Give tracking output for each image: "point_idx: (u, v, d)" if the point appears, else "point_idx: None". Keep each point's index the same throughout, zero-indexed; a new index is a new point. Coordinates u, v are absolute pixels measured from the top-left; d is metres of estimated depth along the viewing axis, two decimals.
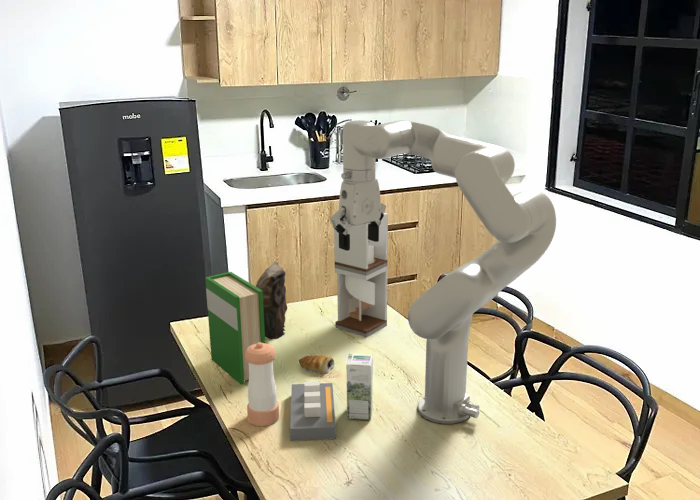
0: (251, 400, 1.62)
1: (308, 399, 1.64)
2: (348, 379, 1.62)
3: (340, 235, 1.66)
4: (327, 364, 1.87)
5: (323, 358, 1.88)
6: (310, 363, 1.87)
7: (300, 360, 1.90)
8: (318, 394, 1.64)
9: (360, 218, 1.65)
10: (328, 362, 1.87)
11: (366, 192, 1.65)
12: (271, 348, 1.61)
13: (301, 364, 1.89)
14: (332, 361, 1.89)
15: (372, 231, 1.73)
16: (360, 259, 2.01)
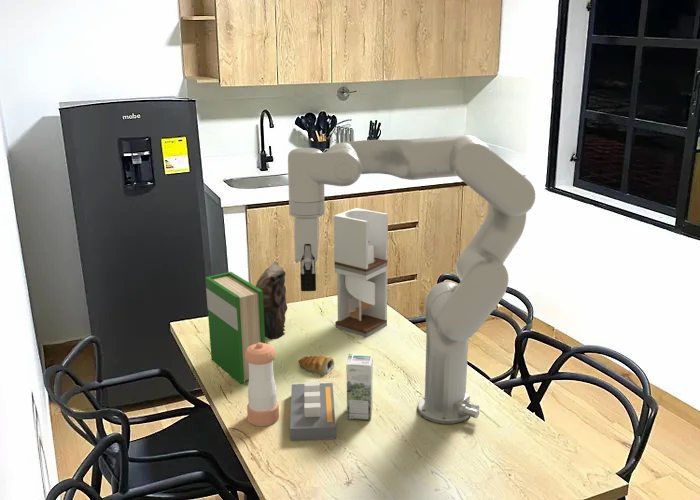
0: (251, 400, 1.62)
1: (308, 399, 1.64)
2: (348, 379, 1.62)
3: None
4: (327, 365, 1.86)
5: (323, 359, 1.88)
6: (310, 364, 1.87)
7: (300, 361, 1.90)
8: (318, 394, 1.64)
9: None
10: (328, 363, 1.87)
11: None
12: (271, 348, 1.61)
13: (301, 365, 1.89)
14: (332, 362, 1.89)
15: None
16: (360, 259, 2.01)
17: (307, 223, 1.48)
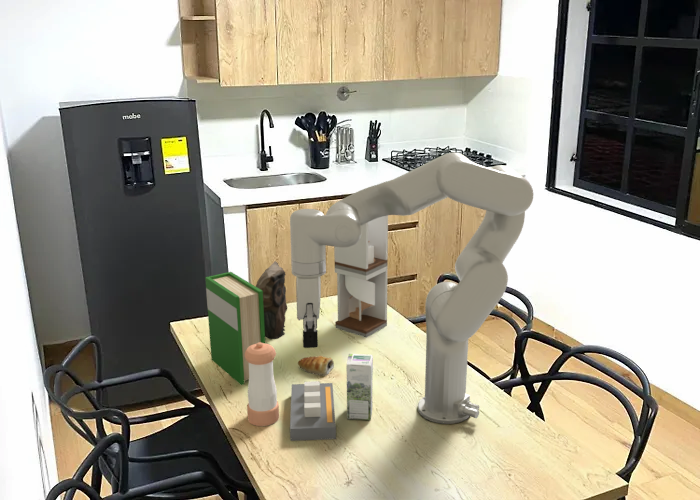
0: (251, 400, 1.62)
1: (308, 399, 1.64)
2: (348, 379, 1.62)
3: None
4: (327, 365, 1.86)
5: (323, 359, 1.87)
6: (310, 364, 1.86)
7: (299, 362, 1.89)
8: (318, 394, 1.64)
9: None
10: (328, 363, 1.86)
11: None
12: (271, 348, 1.61)
13: (300, 366, 1.88)
14: (332, 362, 1.89)
15: None
16: (360, 259, 2.01)
17: (309, 283, 1.52)
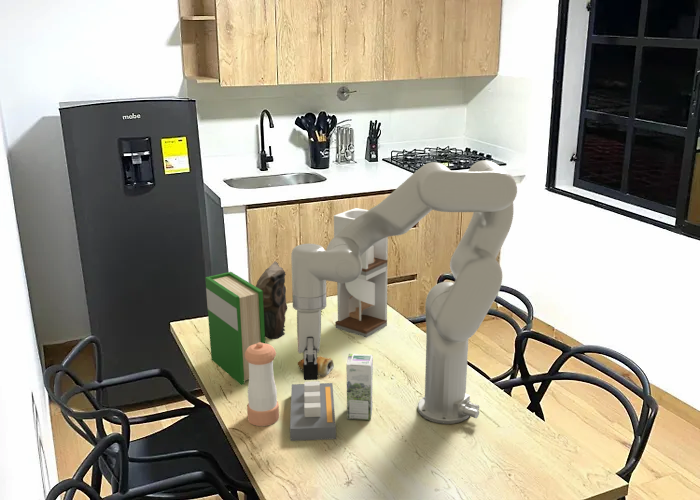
0: (251, 400, 1.62)
1: (308, 399, 1.64)
2: (348, 379, 1.62)
3: None
4: (327, 366, 1.86)
5: (323, 360, 1.87)
6: None
7: (299, 362, 1.89)
8: (318, 394, 1.64)
9: None
10: (328, 364, 1.86)
11: None
12: (271, 348, 1.60)
13: (300, 366, 1.88)
14: (331, 363, 1.89)
15: None
16: None
17: (310, 317, 1.54)
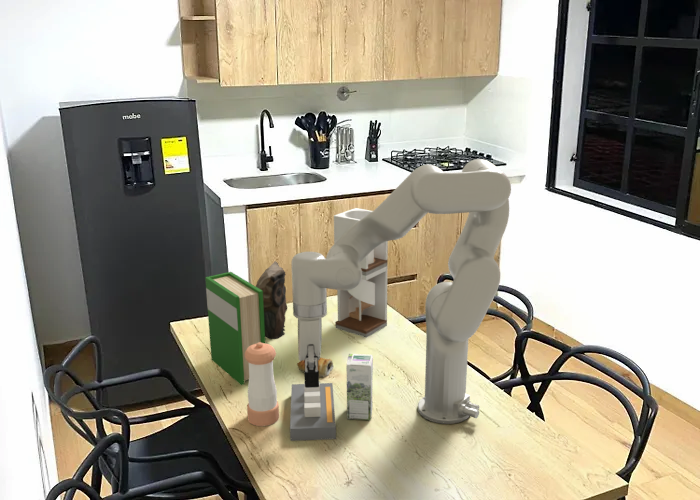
0: (251, 400, 1.62)
1: (308, 399, 1.64)
2: (348, 379, 1.62)
3: None
4: (327, 366, 1.85)
5: (322, 361, 1.87)
6: None
7: (299, 363, 1.88)
8: (318, 394, 1.64)
9: None
10: (328, 364, 1.86)
11: None
12: (271, 348, 1.61)
13: (300, 367, 1.87)
14: (331, 363, 1.88)
15: None
16: None
17: (310, 325, 1.55)
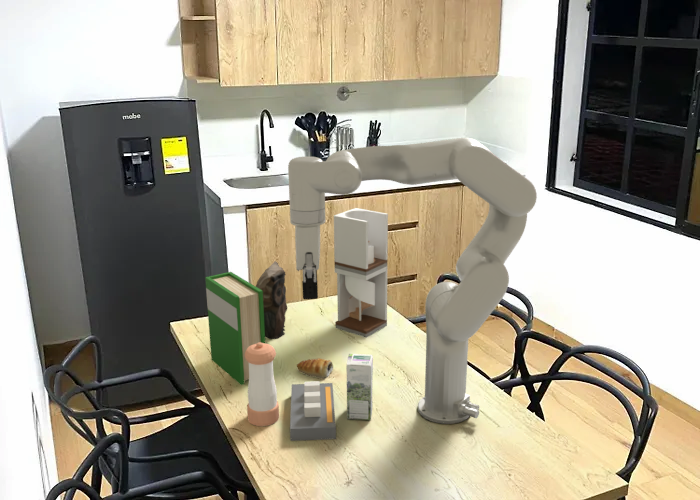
0: (251, 400, 1.62)
1: (308, 399, 1.64)
2: (348, 379, 1.62)
3: None
4: (327, 368, 1.85)
5: (322, 362, 1.86)
6: (310, 367, 1.85)
7: (298, 365, 1.87)
8: (318, 394, 1.64)
9: None
10: (328, 366, 1.85)
11: None
12: (271, 348, 1.61)
13: (300, 369, 1.86)
14: (331, 364, 1.88)
15: None
16: (360, 259, 2.01)
17: (308, 232, 1.48)
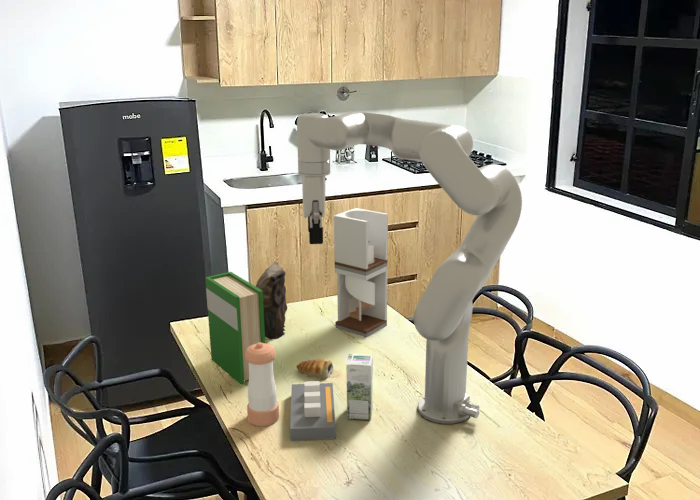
0: (251, 400, 1.62)
1: (308, 399, 1.64)
2: (348, 379, 1.62)
3: None
4: (327, 368, 1.84)
5: (322, 362, 1.86)
6: (310, 368, 1.84)
7: (298, 366, 1.87)
8: (318, 394, 1.64)
9: None
10: (328, 366, 1.85)
11: (302, 182, 1.67)
12: (271, 348, 1.61)
13: (300, 370, 1.86)
14: (331, 365, 1.87)
15: None
16: (360, 259, 2.01)
17: (315, 181, 1.63)
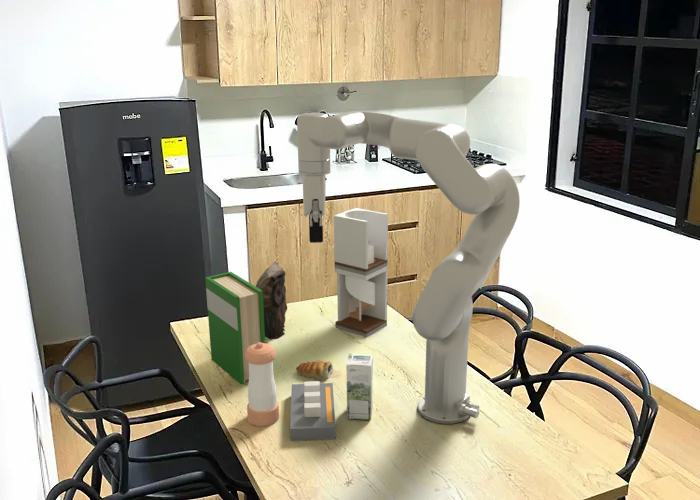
0: (251, 400, 1.62)
1: (308, 399, 1.64)
2: (348, 379, 1.62)
3: None
4: (327, 369, 1.84)
5: (322, 364, 1.85)
6: (310, 370, 1.84)
7: (298, 368, 1.86)
8: (318, 394, 1.64)
9: None
10: (328, 367, 1.84)
11: None
12: (271, 348, 1.61)
13: (300, 372, 1.85)
14: (331, 366, 1.87)
15: None
16: (360, 259, 2.01)
17: (315, 180, 1.64)
